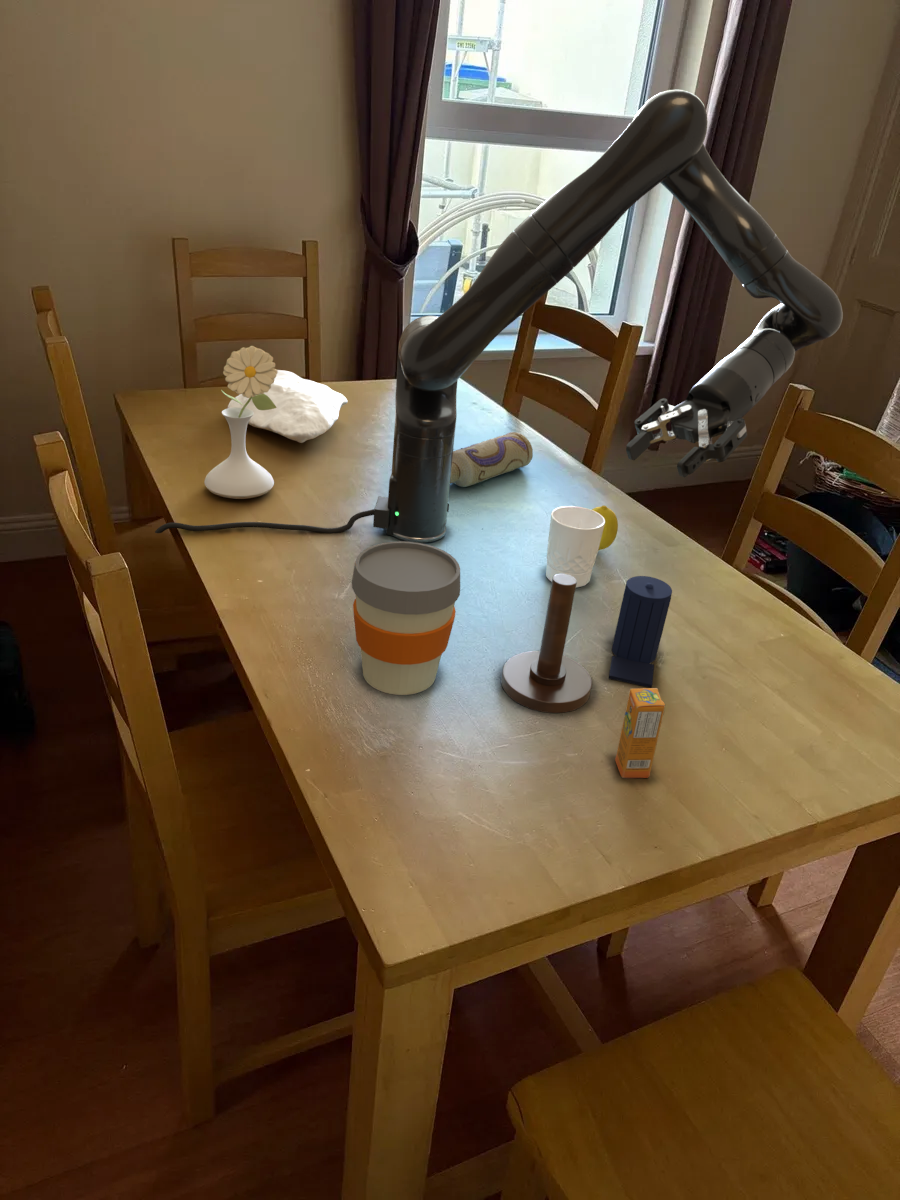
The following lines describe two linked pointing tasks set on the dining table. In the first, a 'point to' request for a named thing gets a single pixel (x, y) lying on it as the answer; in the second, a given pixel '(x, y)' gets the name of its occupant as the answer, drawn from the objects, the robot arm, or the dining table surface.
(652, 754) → the supplement box
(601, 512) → the lemon
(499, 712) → the dining table surface
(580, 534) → the white cup
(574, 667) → the paper towel holder
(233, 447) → the flower in vase
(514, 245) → the robot arm
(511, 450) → the decorative bottle
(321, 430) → the crumpled cloth
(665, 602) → the navy lidded canister
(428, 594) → the reusable coffee cup
